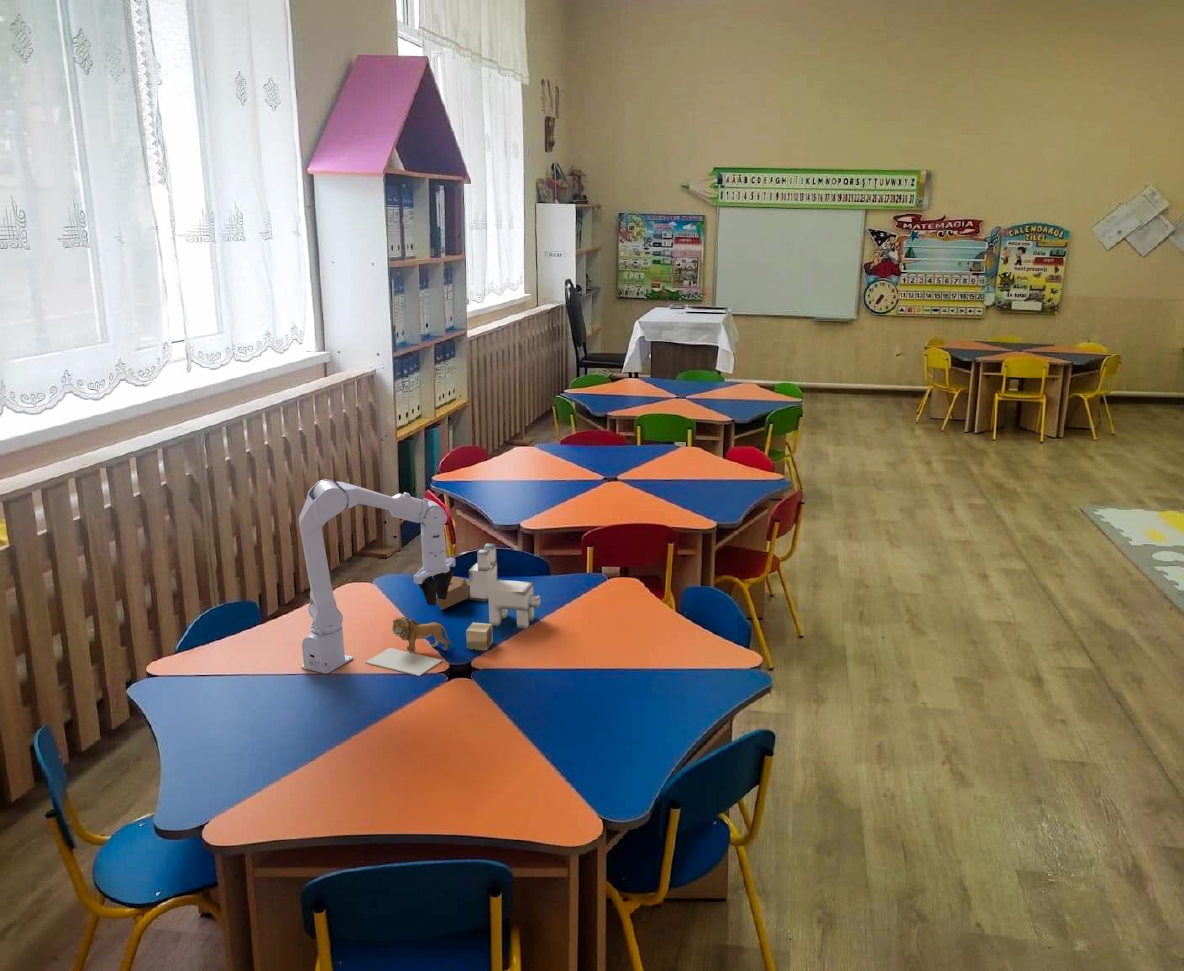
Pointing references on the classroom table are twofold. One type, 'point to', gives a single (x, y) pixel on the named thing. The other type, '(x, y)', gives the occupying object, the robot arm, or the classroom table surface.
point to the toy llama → (501, 590)
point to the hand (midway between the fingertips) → (436, 601)
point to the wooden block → (456, 593)
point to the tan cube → (479, 636)
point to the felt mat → (404, 661)
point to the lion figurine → (419, 632)
